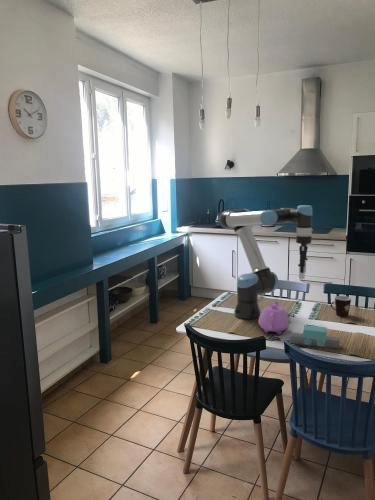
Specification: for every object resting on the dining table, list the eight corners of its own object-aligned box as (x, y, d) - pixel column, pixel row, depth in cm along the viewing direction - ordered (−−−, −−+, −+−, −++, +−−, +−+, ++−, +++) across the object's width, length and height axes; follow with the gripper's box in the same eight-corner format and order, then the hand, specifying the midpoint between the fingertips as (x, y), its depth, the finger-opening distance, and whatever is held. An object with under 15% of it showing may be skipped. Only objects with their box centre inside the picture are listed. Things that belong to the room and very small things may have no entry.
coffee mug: (347, 312, 223) (348, 295, 221) (352, 317, 214) (353, 300, 212) (326, 312, 224) (327, 295, 222) (330, 317, 215) (331, 300, 214)
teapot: (262, 320, 214) (262, 296, 211) (291, 323, 208) (292, 299, 206) (255, 335, 193) (255, 309, 191) (287, 339, 188) (287, 312, 185)
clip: (303, 345, 180) (303, 329, 179) (303, 340, 185) (304, 325, 184) (325, 347, 177) (326, 332, 175) (325, 342, 182) (326, 327, 181)
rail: (289, 343, 183) (289, 335, 182) (290, 340, 187) (290, 332, 186) (339, 349, 176) (339, 340, 175) (338, 345, 180) (339, 337, 179)
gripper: (310, 239, 187) (309, 281, 191) (312, 232, 210) (310, 270, 214) (294, 238, 189) (293, 280, 193) (298, 231, 212) (296, 269, 216)
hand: (302, 275), depth 204 cm, fingers open, 13 cm apart
